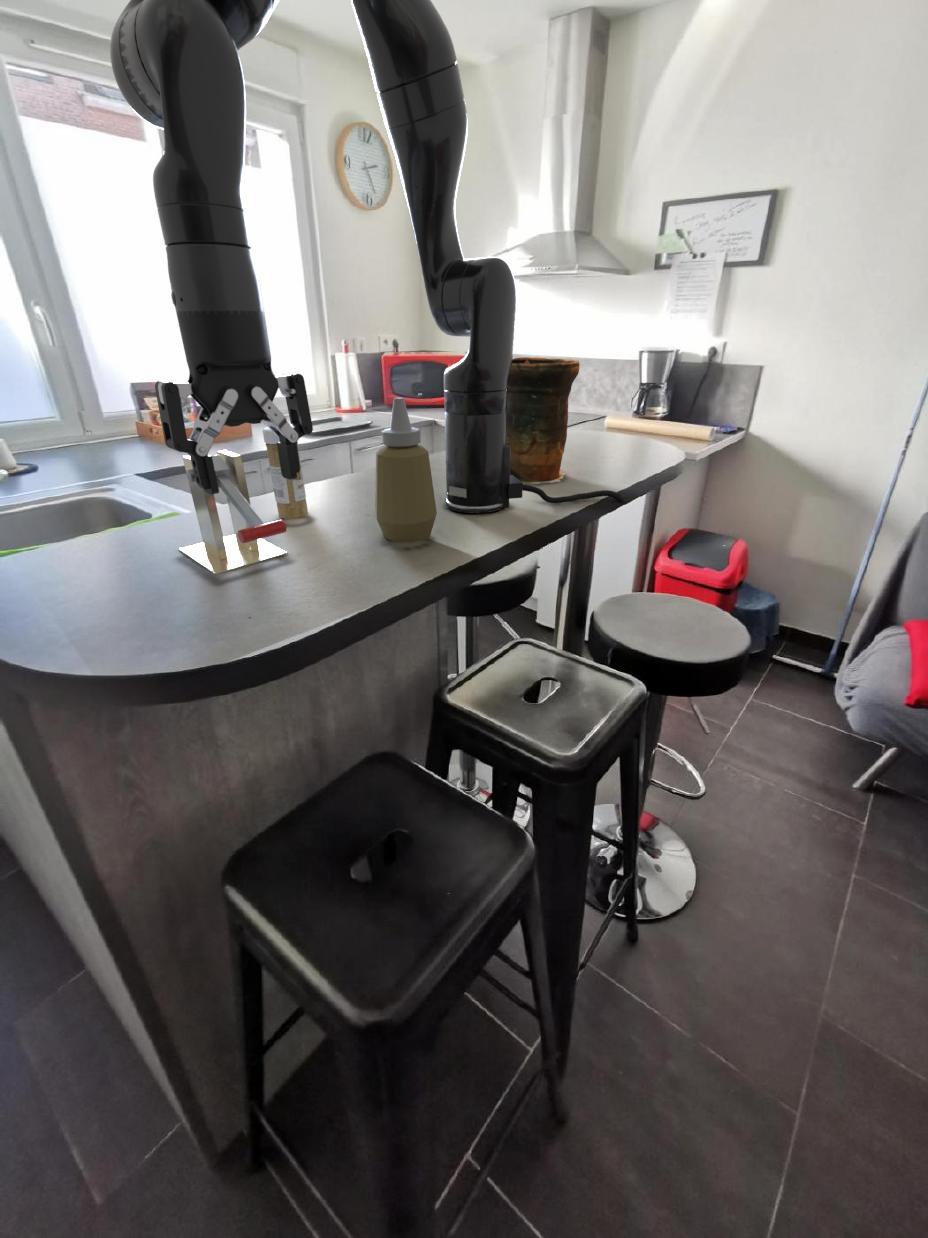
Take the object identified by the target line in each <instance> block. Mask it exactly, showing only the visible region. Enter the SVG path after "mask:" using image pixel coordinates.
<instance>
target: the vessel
mask: <svg viewBox="0 0 928 1238" xmlns="http://www.w3.org/2000/svg"><path fill="white" fill-rule="evenodd" d="M579 373H580V361H579V360H576V359H575V360H574V359H572V358H547V357H530V356H529V357H528V356H527V357H525V356H523V357H515V358H513V359H512V365H511V369H510V373H509V376H508V388H507V389H508V390H507V434H506V443H507V444H509V445H510V448H511V451H510V475H513V476H514V477H516V478H517V479H518V480H520V481H521V482H522V483H523V484H525V485H540V484H542V483H543V484H544V483H545V484H548V483H551V484H552V483H556V482H557V483H559V482H561V480H562V479H564V475H565V472H563V470H561V466H562V461H563V455H564V453H565V448H566V443H567V437H568V422H569V397H570V394H571V391H572V386H573V383H574V382H575V380H576V379H577V377H578V376H579Z"/></svg>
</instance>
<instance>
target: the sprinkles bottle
mask: <svg viewBox="0 0 928 1238" xmlns="http://www.w3.org/2000/svg"><path fill="white" fill-rule="evenodd" d="M262 436H263V442H264V444H265V446H266V453H267V459H268V463H269V464H268V465H269V466H268V467H269V472H270V478H271V483H272V489H273V494H274V500H275V503H276V509H277V514H278V517H279V518H281V519H287V520H288V519H289V520H292V519H299V518H304V517H306V516H308V514H309V510H308V503H307V494H306V488H305V483H304V476H303V470H302V469H303V468H302V464H301V459H300V452H299V451H298V456H299V463H300V471H299V473H297V478H296V479H291V480H289V479H286V478H284V477H283V476H282V474H281V468H280V461H279V455H278V448H277V442H280V440H279V438H278V437H277V436H276V435H275V434H274V433H273V432H272V430H271V429H270V428H269V427H268V426H266V427H264V428H263V429H262ZM297 449H298V450H299V441H297Z"/></svg>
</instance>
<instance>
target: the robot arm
mask: <svg viewBox="0 0 928 1238" xmlns="http://www.w3.org/2000/svg"><path fill="white" fill-rule="evenodd" d="M279 2H280V0H129V1H128V3H127V4H126V5H125V7H124V9H123V10H122V11H121V14H120V15H119V17H118V18H117V20H116V22H115V24H114V27H113V29H112V33H111V37H110V45H109V55H110V57H109V58H110V64H111V69H112V74H113V76H114V79H115V82H116V84H117V87H118V89H119V92H120V93H121V95H122V96H123V99H124V100H125V101H126V103H127V104H128V105H129V107H130V108H131V109H132V110H133V111H134V113H136V115H138V116H139V117H140V118H141V119H142V120H144V121H145V122H146V123H148V124H149V125H152V126H153V127H156V128H157V129H161V130H163V140H164V146H163V147H164V148H163V153H162V155H161V157H160V159H159V161H158V162H157V164H156V166H155V167H154V170H153V174H152V185H153V193H154V194H153V195H154V200H155V204H156V209H157V215H158V218H159V223H160V228H161V233H162V238H163V242H164V245H165V246H166V247H165V252H166V260H167V272H168V280H169V285H170V289H171V294H170V295H171V300H172V304H173V307H174V308H175V314H176V318H177V323H178V326H179V332H180V337H181V341H182V346H183V351H184V355H185V359H186V364H187V368H188V372H189V375H188V380H187V382H172V381H167V380H161V379H160V380H157V381H155V384H154V390H155V396H156V400H157V406H158V412H159V418H160V421H161V422H160V423H161V428H162V434H163V440H164V445H165V446H166V447H167V448H169V449H171V450H174V451H176V452H179V453H184V454H185V453H186V454H187V455H188V456H190V458H191V462H192V467H193V471H194V476H195V480H196V483H197V484H198V486H199V487H200V488H202V489H204V491H205V492H206V493H209V494H211V495H212V494H214V495H216V494H219V493H220V487H219V488H218V483H217V478H216V474H215V469H214V464H213V459H212V456H213V455H210V454H209V453H210V450H211V449H212V446H213V445H214V442H215V440H216V438H217V437H219V435H220V434H221V432H222V430H223V428H224V427H225V426H227V427H230V428H232V427H239V426H241V425H245V424H252V425H255V424H256V425H257V424H263V425H265V426H266V427H269V428H270V429H271V430H272V432H273V433H274V434H275V435H276V436H277V437H278V438H279V440H280V442H277V448H278V455H279V461H280V468H281V474H282V476H283V477H284V478H286V479H289V480H291V479H296V478H297V473H299V471H300V464H301V462H300V463H299V457H300V455H299V456H298V452H299V448H298V449H297V442H299V440H300V438H302V437H304V436H305V435H311V434H313V430H314V426H313V421H312V416H311V415H312V414H311V410H310V405H309V398H308V394H307V388H306V383H305V382H306V381H305V379H304V378H305V377H304V375H302V374H301V373H296V372H284V373H282V375H275V373H274V371H273V369H272V355H271V348H270V341H269V334H268V328H267V327H268V326H267V321H266V313H265V308H264V307H265V306H264V301H263V295H262V288H261V281H260V276H259V272H258V268H257V266H256V262H255V258H254V253H253V250H252V242H251V236H250V229H249V222H248V215H247V209H246V204H245V198H244V193H243V191H244V190H243V189H244V188H243V187H244V186H243V185H244V172H245V160H246V127H247V96H246V95H247V94H246V84H245V77H244V71H243V66H242V62H241V58H240V54H239V50H240V49H242V48H244V46H246V45H247V44H249V43H251V42H252V40H254V39H255V38H256V37H257V36H258V35H259V34H260V33H261V31H262V30H263V29H264V28H265V26H266V25H267V23H268V22H269V20H270V17H271V16H272V15H273V13H274V11H275V9H276V8H277V5H278V4H279ZM350 2H351V5H352V9H353V12H354V15H355V18H356V23H357V25H358V30H359V32H360V36H361V39H362V42H363V46H364V50H365V53H366V57H367V60H368V65H369V68H370V73H371V77H372V81H373V85H374V89H375V92H376V96H377V100H378V103H379V107H380V112H381V114H382V119H383V123H384V125H385V128H386V132H387V136H388V138H389V142H390V145H391V148H392V151H393V156H394V158H395V162H396V166H397V169H398V172H399V176H400V177H399V178H400V181H401V184H402V189H403V193H404V197H405V200H406V204H407V208H408V212H409V216H410V220H411V224H412V228H413V233H414V238H415V243H416V249H417V253H418V254H417V255H418V258H419V259H418V260H419V264H420V270H421V275H422V280H423V285H424V291H425V295H426V299H427V302H428V307H429V310H430V313H431V316H432V318H433V321H434V322H435V324H436V326H437V327H438V329H439V330H440V331H441V332H442V333H444V334H445V335H447V336H450V337H451V336H452V337H467V338H469V344H468V350H467V352H466V354H465V355H464V357H463V358H461V359H460V360H459V361H457V362H454V363H453V364H451V365H449V366H447V367H446V368H445V369H444V371H443V402H444V403H443V404H444V443H445V446H444V447H445V474H446V475H445V482H446V491H445V492H446V497H445V503H446V507H447V508H448V509H449V510H451V511H454V512H459V513H463V514H487V513H493V512H497V511H499V510H502V509H509V508H510V500H512V499H513V500H514V499H522V498H523V493H524V492H523V491H525V492H530V493H534V494H536V495H538V496H539V497H540V498H541V499H542V500H543V501H544V502H546V503H548V504H563V503H571V502H575V501H581V500H588V499H595V498H601V497H610V498H613V499H615V500H616V501H617V502H618V503H620V504H621V503H622V504H624V503H625V504H626V503H627V499H626V498H625V497H624V496H623V495H622V494H620V493H618V492H617V491H613V490H609V489H604V490H603V489H602V490H596V491H595V490H594V491H590V492H583V493H574V494H571V495H564V496H556V497H553V496H549V495H548V494H547V493H546V492H545V490H543V489H542V488H539V487H538V486H534V485H532V484H523V483H522V482H521V481H520V480H518V479H517V478H516V477H514V476H513V475H510V451H511V448H510V445H509V444H507V443H506V434H507V390H508V389H507V388H508V376H509V373H510V369H511V365H512V359H514V358H513V357H514V343H515V342H514V341H515V331H516V328H515V327H516V318H517V317H516V316H517V287H516V280H515V277H514V273H513V271H512V268H511V267H510V265H509V263H508V262H507V261H505V259H503V258H500V257H496V256H486V257H484V256H483V257H475V258H473V257H472V258H465V257H464V254H463V251H462V246H461V242H460V237H459V232H458V226H457V218H456V203H457V200H456V199H457V194H458V187H459V183H460V178H461V172H462V168H463V163H464V158H465V152H466V147H467V139H468V129H469V127H468V125H469V124H468V121H469V120H468V112H467V111H468V110H467V105H466V99H465V94H464V90H463V89H464V88H463V85H462V79H461V74H460V69H459V64H458V63H457V62H458V59H457V54H456V49H455V47H454V42H453V39H452V37H451V34H450V32H449V30H448V28H447V25H446V24H445V22H444V20H443V18H442V15H440V13H439V11H438V9H437V8H436V7H435V5H434V3H433V2H432V0H350ZM278 391H280V394H281V395H282V396H283V397H285V402H286V406H287V412H288V417H289V422H290V423H289V422H288V420H287V417H286V416H285V415H284V414H283V413H282V411H281V410H280V409H279V408H278V407H277V406H276V405H275V403H274V402H273V401H274V399H275V397H276V395H277V393H278ZM189 396H190V397H191V398H192V399H193V400H194V401H195V402H196V403H197V404H198V405H199V406H200V410H199V411H198V413H197V416H196V418H195V420H194V422H193V429H192V431H191V433H190V435H189V436H187V432H186V430H187V429H186V425H185V418H184V413H183V408H185V407H186V406H187V403H188V397H189ZM619 645H621V643H619Z"/></svg>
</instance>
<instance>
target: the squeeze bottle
mask: <svg viewBox="0 0 928 1238" xmlns="http://www.w3.org/2000/svg"><path fill="white" fill-rule="evenodd" d="M381 439H382V440H381V441H382V444H383V445H384V446H381V447H380V448H379V449H378V450H377V451H376V452H375V490H374V491H375V493H374V496H375V499H374V516H375V519H376V521H377V524H378V526H379V528H380V530H381V533H382V535H383V537H384V538H385V539H387V540H389V541H393V542H406V543H407V542H408V543H409V542H416V541H420V540H424V539H427V540H430V538H431V535H432V532H433V528H434V524H435V521H436V518H437V511H438V510H437V505H436V498H435V491H434V484H433V475H432V468H431V462H430V455H429V450H428V449H426V448H425V447H424V445H420V443H421V429H420V428H419V427H413V426H412V425H411V421H410V417H409V413H408V409H407V405H406V402H405V397H393V402H392V410H391V417H390V424H389V427H388V428H384V429H382V430H381Z"/></svg>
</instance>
